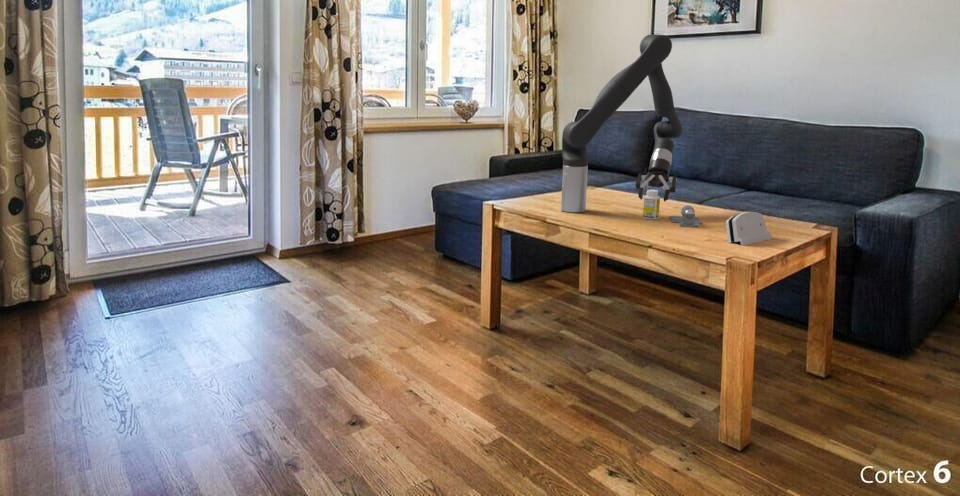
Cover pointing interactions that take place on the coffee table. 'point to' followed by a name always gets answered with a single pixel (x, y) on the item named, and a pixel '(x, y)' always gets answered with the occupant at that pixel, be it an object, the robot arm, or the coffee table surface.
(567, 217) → the coffee table surface
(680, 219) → the plate
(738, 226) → the grey rounded slab
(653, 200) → the supplement bottle
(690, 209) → the shaft stub
